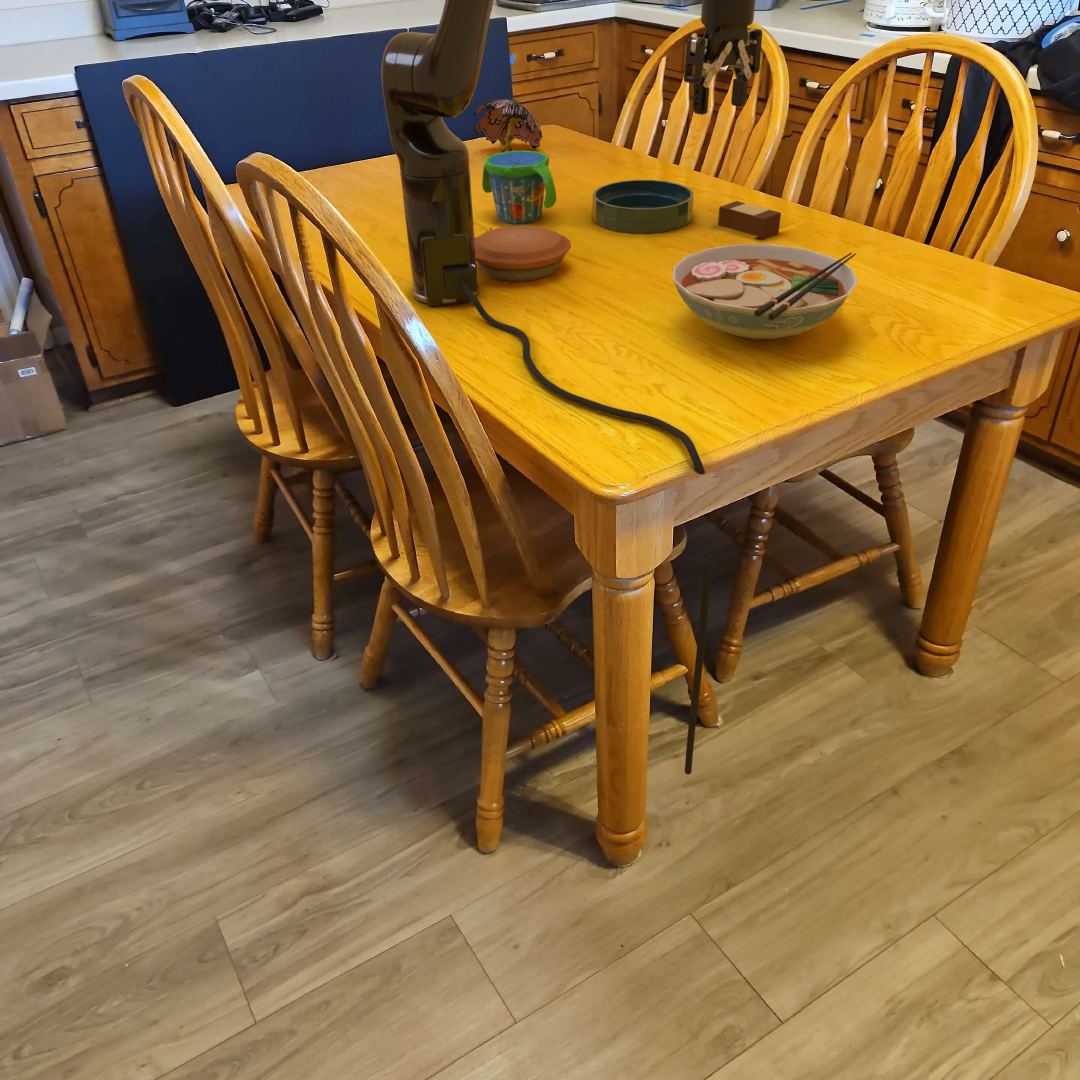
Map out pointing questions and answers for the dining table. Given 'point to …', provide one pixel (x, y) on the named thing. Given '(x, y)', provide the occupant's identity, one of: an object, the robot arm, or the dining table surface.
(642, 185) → the snack bowl
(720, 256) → the ramen bowl
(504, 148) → the decorative flower
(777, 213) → the oat bar
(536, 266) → the pie
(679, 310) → the dining table surface
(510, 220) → the snack cup
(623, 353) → the dining table surface
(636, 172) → the dining table surface
